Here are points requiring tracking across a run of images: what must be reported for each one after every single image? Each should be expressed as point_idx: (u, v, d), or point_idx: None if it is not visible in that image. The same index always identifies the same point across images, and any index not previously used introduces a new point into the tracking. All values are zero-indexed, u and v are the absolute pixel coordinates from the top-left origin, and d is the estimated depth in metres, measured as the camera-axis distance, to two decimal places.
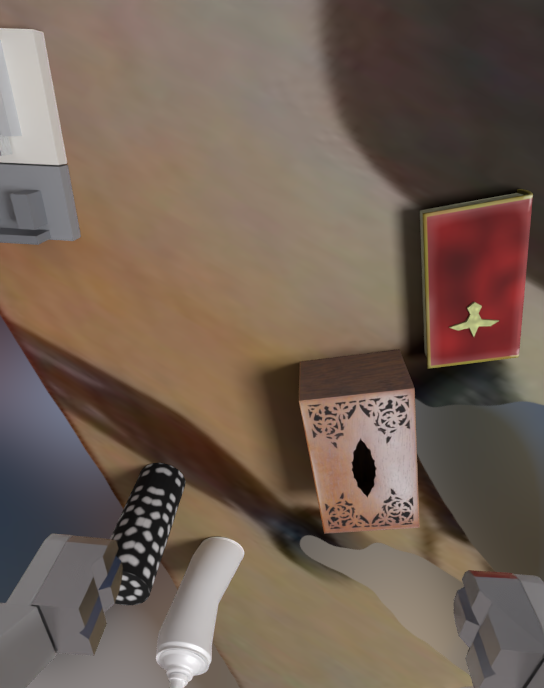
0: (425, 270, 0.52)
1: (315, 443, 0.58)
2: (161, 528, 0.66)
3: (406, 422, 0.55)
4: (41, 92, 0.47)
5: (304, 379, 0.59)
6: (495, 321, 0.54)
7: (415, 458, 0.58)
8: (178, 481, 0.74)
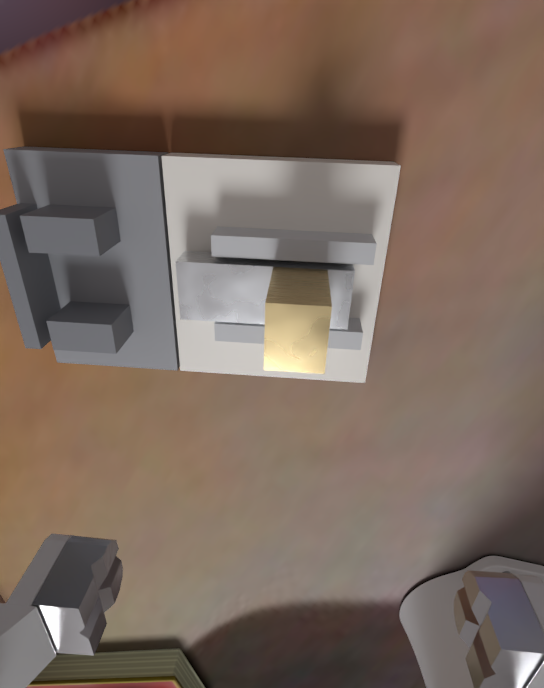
0: (121, 681, 0.51)
1: None
2: None
3: None
4: (284, 372, 0.30)
5: None
6: None
7: None
8: None
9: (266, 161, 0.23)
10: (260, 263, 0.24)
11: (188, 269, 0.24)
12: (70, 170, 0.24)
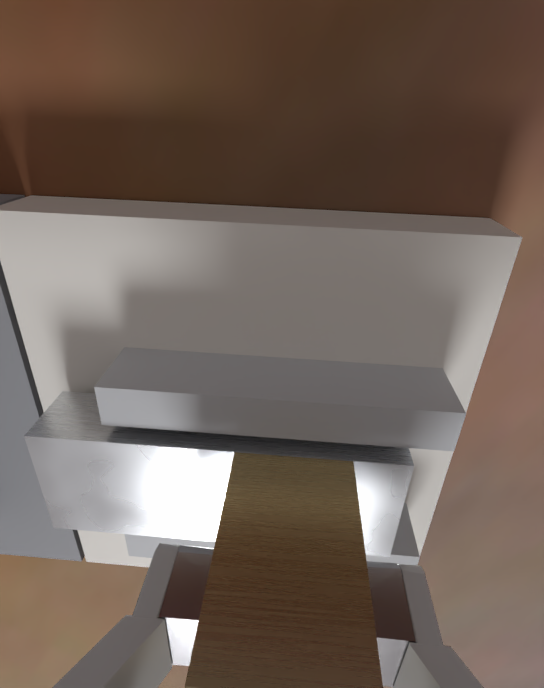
0: None
1: None
2: None
3: None
4: None
5: None
6: None
7: None
8: None
9: (217, 224, 0.10)
10: (207, 440, 0.11)
11: (54, 450, 0.11)
12: None
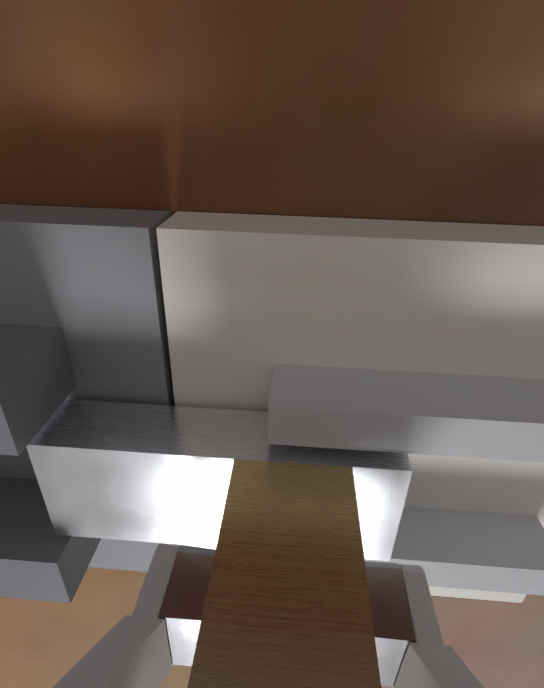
0: None
1: None
2: None
3: None
4: None
5: None
6: None
7: None
8: None
9: (394, 241, 0.10)
10: (207, 447, 0.11)
11: (55, 458, 0.11)
12: None
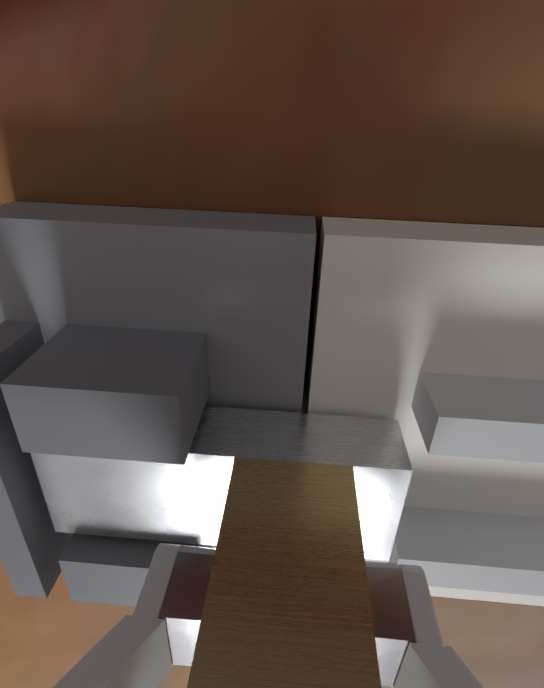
0: None
1: None
2: None
3: None
4: (482, 594, 0.17)
5: None
6: None
7: None
8: None
9: None
10: (208, 445, 0.11)
11: (56, 455, 0.11)
12: (114, 260, 0.11)
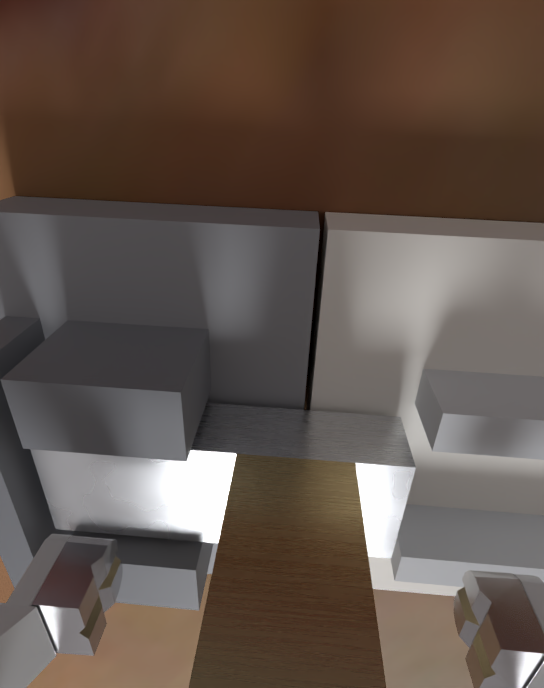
0: None
1: None
2: None
3: None
4: None
5: None
6: None
7: None
8: None
9: None
10: (209, 442, 0.11)
11: (56, 451, 0.11)
12: (116, 256, 0.11)
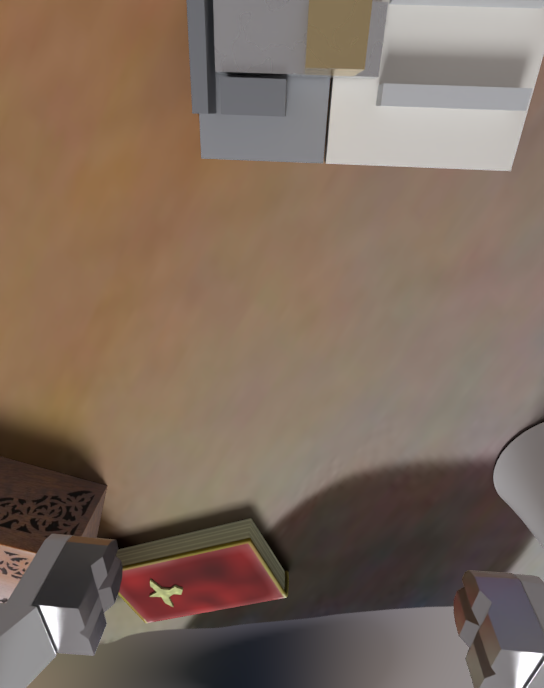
0: (197, 551, 0.51)
1: None
2: None
3: None
4: (431, 161, 0.30)
5: (89, 523, 0.47)
6: (171, 605, 0.56)
7: None
8: None
9: None
10: (295, 0, 0.25)
11: (225, 7, 0.25)
12: None
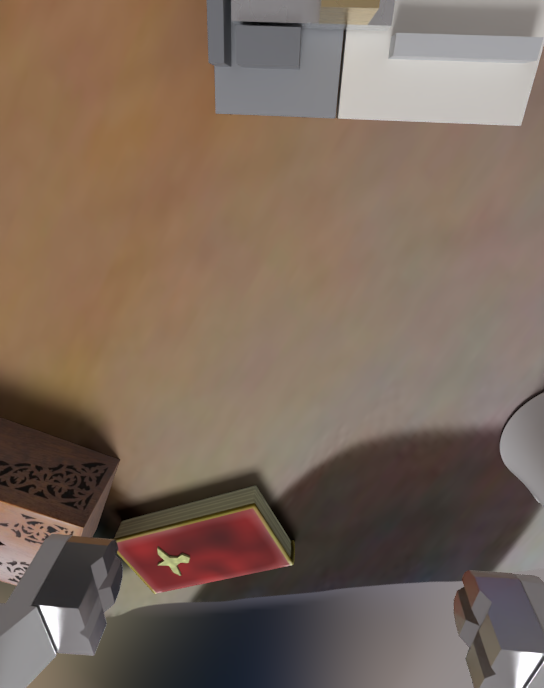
0: (203, 518, 0.51)
1: (10, 511, 0.43)
2: None
3: (18, 580, 0.49)
4: (442, 115, 0.30)
5: (102, 494, 0.48)
6: (179, 574, 0.56)
7: None
8: None
9: None
10: None
11: None
12: None
